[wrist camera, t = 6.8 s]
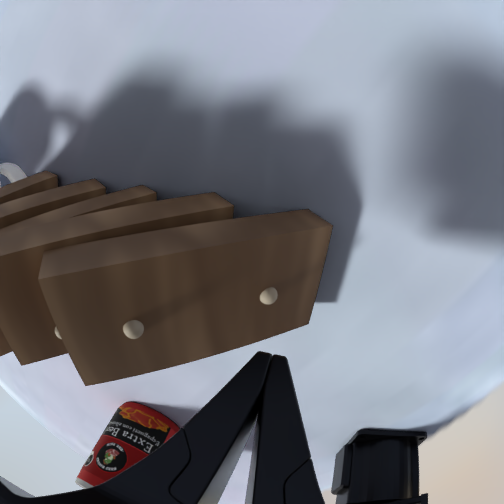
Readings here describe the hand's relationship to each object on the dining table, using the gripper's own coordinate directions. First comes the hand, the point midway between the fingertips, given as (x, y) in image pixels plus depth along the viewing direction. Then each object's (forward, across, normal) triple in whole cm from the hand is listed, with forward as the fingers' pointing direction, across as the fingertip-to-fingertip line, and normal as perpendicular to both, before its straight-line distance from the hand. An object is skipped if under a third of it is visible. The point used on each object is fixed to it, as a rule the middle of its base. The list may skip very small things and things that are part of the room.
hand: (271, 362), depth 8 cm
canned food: (+6, +11, +23) cm, 26 cm away
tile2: (+6, +3, 0) cm, 6 cm away
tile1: (+5, -1, 0) cm, 5 cm away
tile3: (+6, +7, 0) cm, 9 cm away
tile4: (+6, +10, 0) cm, 12 cm away
